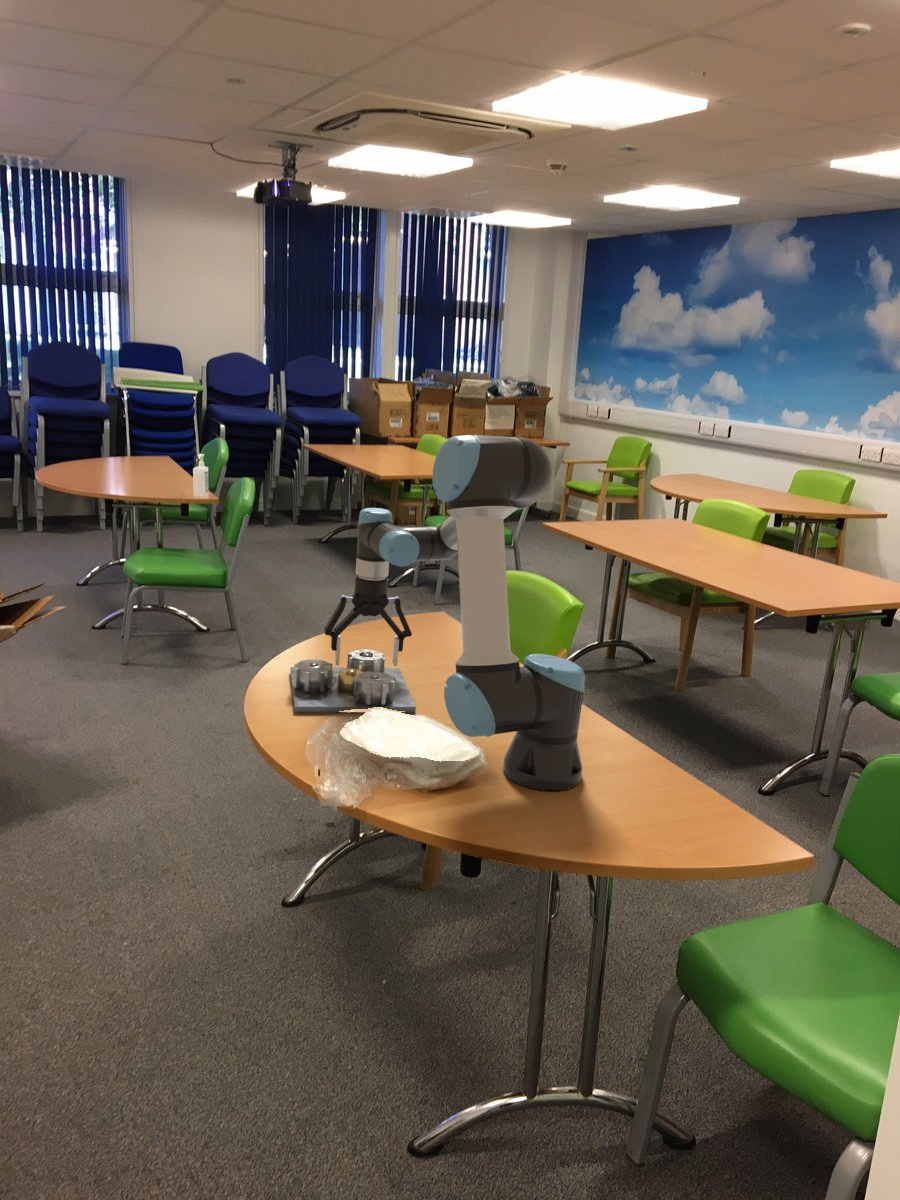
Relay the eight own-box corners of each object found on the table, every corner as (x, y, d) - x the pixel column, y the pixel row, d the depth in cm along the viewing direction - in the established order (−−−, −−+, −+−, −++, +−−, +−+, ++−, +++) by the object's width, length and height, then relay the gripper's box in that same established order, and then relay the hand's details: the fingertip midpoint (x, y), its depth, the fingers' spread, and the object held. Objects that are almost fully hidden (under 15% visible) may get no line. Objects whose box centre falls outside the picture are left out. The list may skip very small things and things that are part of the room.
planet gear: (385, 681, 215) (387, 661, 214) (349, 681, 214) (350, 660, 212) (380, 668, 223) (382, 648, 222) (345, 668, 222) (346, 648, 220)
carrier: (415, 713, 203) (417, 684, 201) (294, 713, 197) (296, 683, 195) (398, 674, 225) (400, 647, 223) (290, 673, 220) (291, 645, 218)
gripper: (422, 573, 218) (415, 658, 224) (315, 570, 213) (311, 657, 219) (428, 582, 211) (421, 669, 217) (317, 578, 206) (313, 668, 212)
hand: (366, 663), depth 218 cm, fingers open, 13 cm apart
